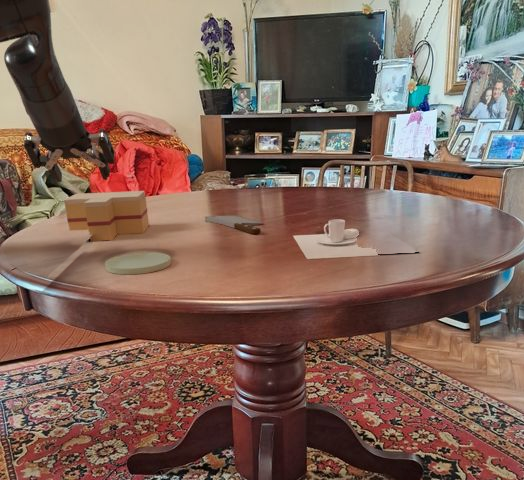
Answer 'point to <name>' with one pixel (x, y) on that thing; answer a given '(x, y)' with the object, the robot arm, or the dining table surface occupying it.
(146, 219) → the cake
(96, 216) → the cake slice
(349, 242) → the teacup and saucer
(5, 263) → the dining table surface
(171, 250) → the dining table surface
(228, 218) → the kitchen cleaver
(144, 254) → the plate
